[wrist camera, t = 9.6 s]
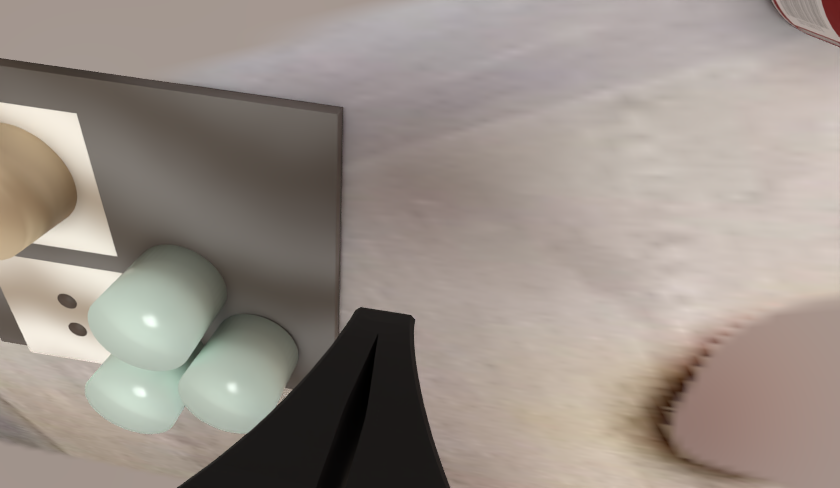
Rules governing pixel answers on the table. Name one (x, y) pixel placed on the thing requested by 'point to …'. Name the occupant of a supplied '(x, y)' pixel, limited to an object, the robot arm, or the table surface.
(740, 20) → the table surface
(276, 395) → the pale green dome
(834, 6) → the soda can
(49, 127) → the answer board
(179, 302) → the mint cylinder
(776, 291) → the table surface
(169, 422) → the mint rounded block
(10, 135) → the beige rounded lump
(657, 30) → the table surface
